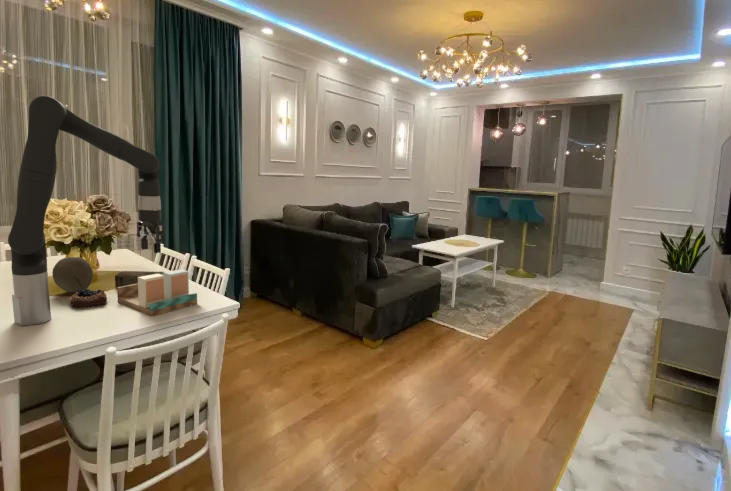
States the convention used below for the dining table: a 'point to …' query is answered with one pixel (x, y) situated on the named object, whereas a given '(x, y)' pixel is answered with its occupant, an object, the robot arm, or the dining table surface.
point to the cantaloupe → (72, 274)
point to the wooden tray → (130, 298)
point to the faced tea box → (176, 284)
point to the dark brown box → (130, 277)
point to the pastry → (88, 299)
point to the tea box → (151, 289)
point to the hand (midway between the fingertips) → (150, 250)
